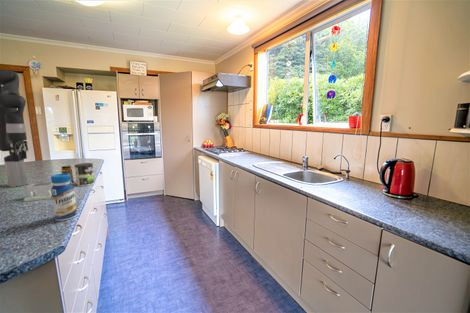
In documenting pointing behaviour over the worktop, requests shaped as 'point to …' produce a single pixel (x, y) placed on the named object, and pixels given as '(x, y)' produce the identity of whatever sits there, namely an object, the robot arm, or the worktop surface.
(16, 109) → the robot arm
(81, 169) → the coffee can
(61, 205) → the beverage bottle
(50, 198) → the pale green pegged board
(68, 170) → the condiment
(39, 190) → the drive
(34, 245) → the worktop surface
